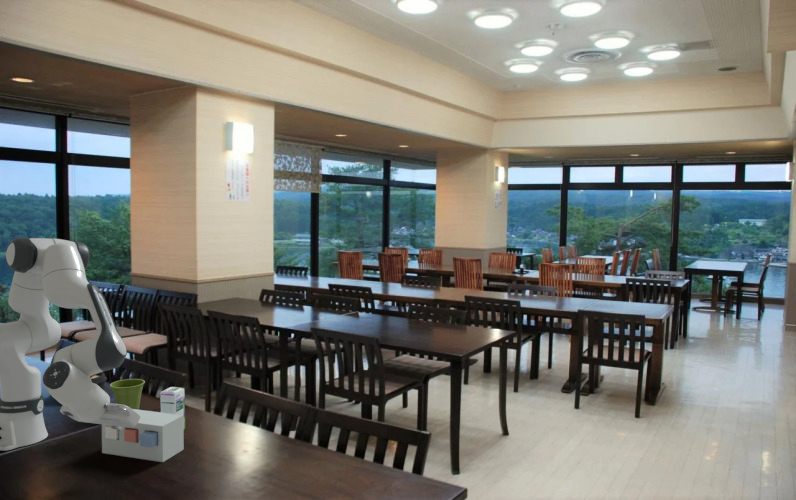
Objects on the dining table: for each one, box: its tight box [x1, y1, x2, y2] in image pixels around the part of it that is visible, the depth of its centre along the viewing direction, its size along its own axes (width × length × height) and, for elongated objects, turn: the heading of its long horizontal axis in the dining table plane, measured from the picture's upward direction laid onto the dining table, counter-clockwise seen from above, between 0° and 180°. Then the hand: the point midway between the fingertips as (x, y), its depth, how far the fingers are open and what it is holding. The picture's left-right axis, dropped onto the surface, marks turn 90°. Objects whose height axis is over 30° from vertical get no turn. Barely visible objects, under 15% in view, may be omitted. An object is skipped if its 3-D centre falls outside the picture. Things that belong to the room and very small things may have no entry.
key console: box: [101, 409, 185, 463], centre depth 182 cm, size 22×10×11 cm, turn 75°
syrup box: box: [159, 386, 186, 430], centre depth 199 cm, size 6×6×14 cm
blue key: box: [140, 431, 158, 447], centre depth 174 cm, size 4×3×4 cm
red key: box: [124, 428, 139, 443], centre depth 177 cm, size 4×3×4 cm
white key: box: [105, 426, 119, 440], centre depth 179 cm, size 4×3×4 cm
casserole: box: [90, 371, 113, 396], centre depth 235 cm, size 25×19×8 cm
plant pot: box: [109, 378, 146, 410], centre depth 216 cm, size 12×12×11 cm
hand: (118, 427), depth 167 cm, fingers closed
